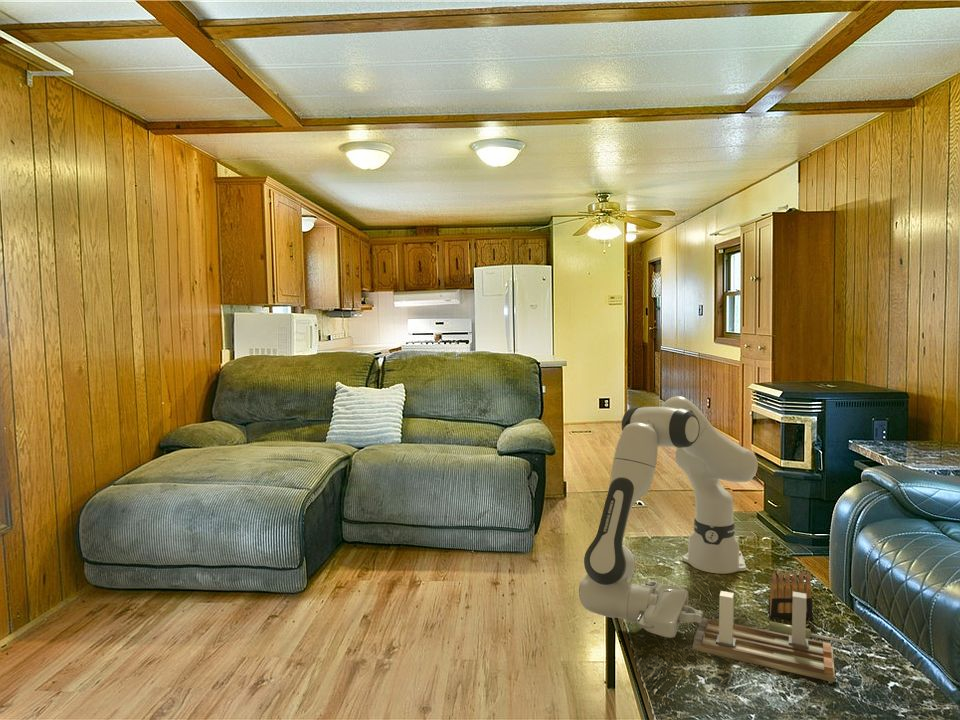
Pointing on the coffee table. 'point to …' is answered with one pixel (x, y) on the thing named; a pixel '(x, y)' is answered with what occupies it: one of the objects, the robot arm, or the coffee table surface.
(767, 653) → the wooden double track board
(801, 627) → the pillar on grey base
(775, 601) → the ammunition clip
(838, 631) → the coffee table surface
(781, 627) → the screwdriver
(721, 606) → the beige rectangular pillar
